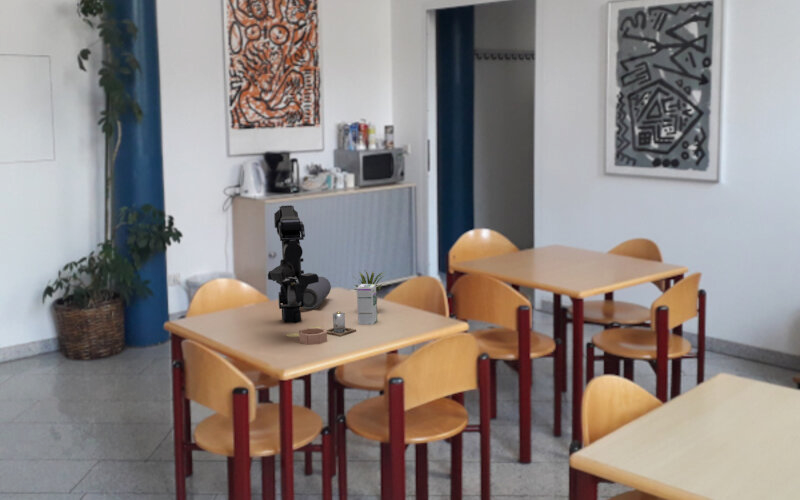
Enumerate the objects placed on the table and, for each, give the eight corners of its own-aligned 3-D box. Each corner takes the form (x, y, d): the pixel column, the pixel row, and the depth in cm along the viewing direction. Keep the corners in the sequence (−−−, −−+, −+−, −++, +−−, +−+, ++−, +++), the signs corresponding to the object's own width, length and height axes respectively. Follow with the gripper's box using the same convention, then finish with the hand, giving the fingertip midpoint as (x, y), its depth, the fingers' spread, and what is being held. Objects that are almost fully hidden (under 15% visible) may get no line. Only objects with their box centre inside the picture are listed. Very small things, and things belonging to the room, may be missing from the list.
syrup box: (374, 327, 316) (372, 287, 314) (357, 327, 318) (356, 286, 315) (377, 323, 322) (376, 283, 320) (361, 323, 323) (360, 283, 321)
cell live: (331, 334, 306) (330, 312, 305) (339, 331, 309) (338, 310, 308) (340, 335, 304) (339, 313, 303) (347, 333, 307) (347, 311, 306)
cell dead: (285, 305, 302) (284, 283, 301) (294, 303, 305) (293, 281, 304) (294, 307, 299) (293, 284, 298) (302, 304, 302) (301, 282, 301)
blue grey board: (279, 338, 305) (278, 333, 305) (315, 327, 319) (315, 322, 319) (295, 341, 300) (295, 336, 300) (332, 330, 314) (332, 325, 314)
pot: (293, 344, 297) (293, 332, 296) (312, 338, 304) (312, 326, 303) (313, 348, 291) (313, 336, 290) (332, 342, 298) (332, 330, 297)
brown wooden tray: (323, 336, 306) (322, 331, 306) (338, 331, 312) (338, 326, 312) (340, 339, 301) (340, 334, 301) (356, 334, 307) (356, 329, 307)
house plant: (398, 309, 342) (397, 267, 340) (378, 317, 331) (376, 273, 328) (367, 306, 350) (365, 264, 347) (346, 313, 338) (344, 270, 336)
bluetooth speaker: (310, 299, 365) (309, 275, 363) (332, 299, 364) (331, 275, 362) (296, 312, 343) (294, 286, 341) (320, 312, 341) (319, 286, 340)
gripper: (254, 257, 299) (257, 303, 302) (294, 262, 288) (296, 309, 290) (279, 252, 308) (281, 297, 310) (318, 257, 296) (320, 303, 299)
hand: (294, 302), depth 302 cm, fingers closed on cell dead, 4 cm apart
